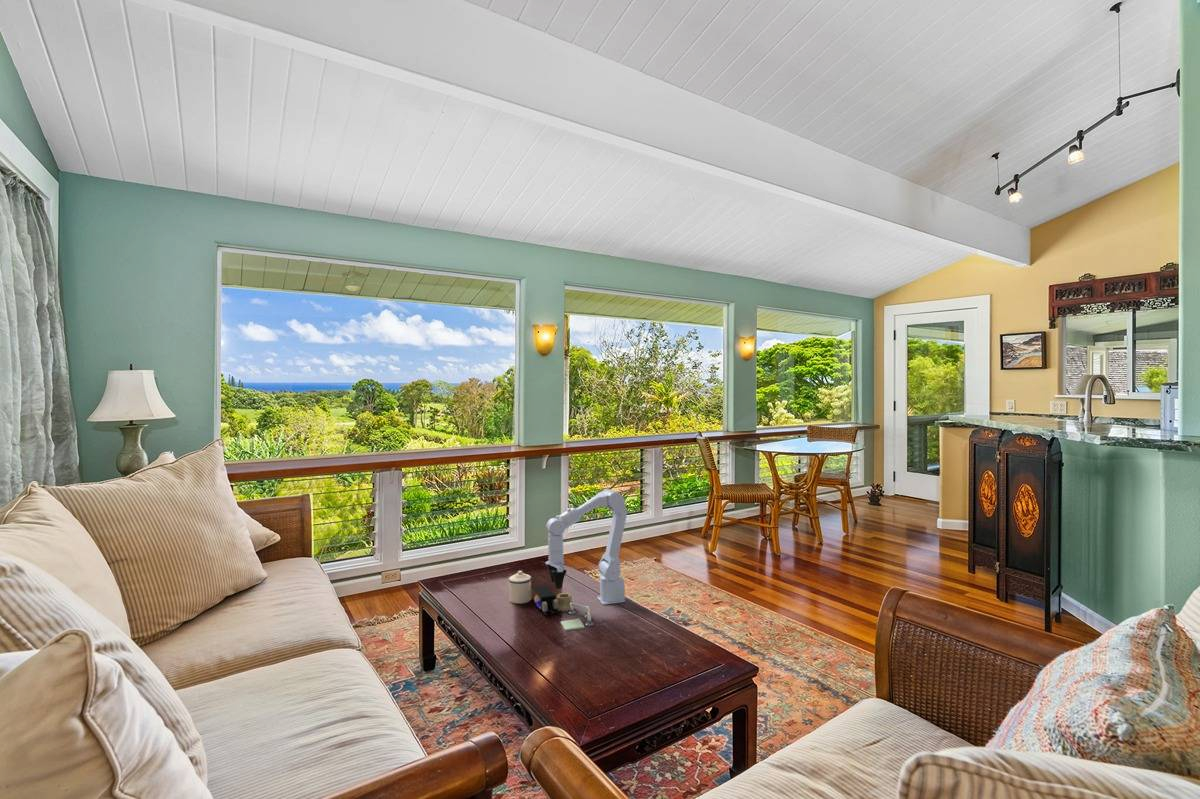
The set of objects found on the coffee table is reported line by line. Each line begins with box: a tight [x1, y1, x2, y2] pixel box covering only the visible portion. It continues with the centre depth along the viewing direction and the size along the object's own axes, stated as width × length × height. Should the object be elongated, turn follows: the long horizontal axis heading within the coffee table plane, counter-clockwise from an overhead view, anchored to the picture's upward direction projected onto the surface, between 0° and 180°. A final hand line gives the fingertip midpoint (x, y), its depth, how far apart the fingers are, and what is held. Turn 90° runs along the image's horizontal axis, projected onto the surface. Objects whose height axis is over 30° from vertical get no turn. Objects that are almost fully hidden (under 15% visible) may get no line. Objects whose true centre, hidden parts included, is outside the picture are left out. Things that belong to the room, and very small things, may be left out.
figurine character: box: [531, 584, 559, 616], centre depth 213 cm, size 7×8×15 cm
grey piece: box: [566, 602, 595, 627], centre depth 204 cm, size 8×15×4 cm, turn 17°
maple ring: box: [556, 592, 573, 612], centre depth 213 cm, size 6×6×5 cm
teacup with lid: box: [508, 570, 532, 605], centre depth 224 cm, size 12×9×12 cm
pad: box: [560, 618, 585, 632], centre depth 198 cm, size 7×7×1 cm
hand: (556, 584), depth 213 cm, fingers open, 7 cm apart
